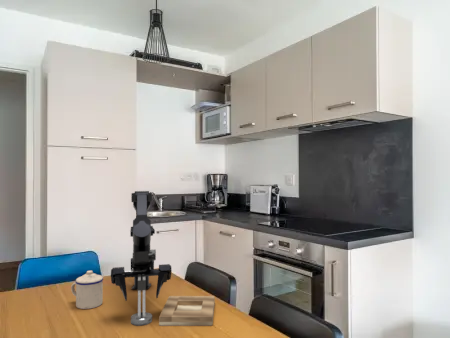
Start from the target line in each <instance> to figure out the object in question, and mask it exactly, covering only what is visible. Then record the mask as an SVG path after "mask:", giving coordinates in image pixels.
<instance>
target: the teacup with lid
mask: <svg viewBox="0 0 450 338" xmlns="http://www.w3.org/2000/svg"><path fill="white" fill-rule="evenodd" d="M103 281H104V277H103V275H101V274H97V273H94V272H93V270H87V271H86V273H85V274H83V275H82V276H78V277H77V278H76V279H75V282H73V283H72V284H71V286H70V289H71V294H72V295H73V296H74V297H75V306H76V308H77V309H81V310H88V309H89V310H90V309H94V308H98V307H100V306H101V305H102V304H103V298H104V297H103V295H104V294H103V293H104V292H103V287H104V285H103Z"/></svg>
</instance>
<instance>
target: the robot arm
mask: <svg viewBox="0 0 450 338" xmlns="http://www.w3.org/2000/svg"><path fill="white" fill-rule="evenodd" d="M130 195H131V196H130V197H131V203H133V204H132V207H133V208H134V210H135V213H136V216H135V218H134V219H133V221H132V226H130V230H129V231H130V235H129V237H132V244H133V245H132V258H130V270H125V266H117V267H112V269H110V279H111V284H113V285H115V286H116V287H117V286H118V287H119V288H120V290H121V292H122V295H123V298H124V300H125V302H127V301H128V294H127V285H126V278H134V279H133V286H132V287H131V290H133V291H134V290H137V291H138V275H139V274H141V277H143V274H145V277H146V290H145V291H147V290H149V289H150V287H151V286H152V283H150V277H153V276H154V277H156V276H157V281H156V282H157V283H156V292H155V298H156V299H158V298H159V295H160V292H161V289H162V286H163V285H164V284H165V283H167V282H168V281H169V280H171V278H172V265H170V263H167V264H158V268H156V269H155V261H156V258H157V256H156V255H157V254H156V253H157V252H156V249H151V239H152V236H153V237H154V234H155V233H156V230H155V228H154V227H153V225H152V224H151V223H152V222H151V219H150V218H149V217H148V211H149V209H150V207H151V202H153V192H150V190H139V191H138V190H137V191H134V192H132V193H130Z"/></svg>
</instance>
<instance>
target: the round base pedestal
mask: <svg viewBox="0 0 450 338" xmlns="http://www.w3.org/2000/svg"><path fill="white" fill-rule="evenodd" d="M146 291H147V290H146V277H145V274H143V277H141V274H139V275H138V290H137V313H134V314H132V315H131V316H130V324H131V325H133V326H135V327H140V326H147V325H149V324H151V323H152V322H153V314H152V313H150V312H148V311H146ZM141 292H142V299H141ZM141 301H142V303H141ZM141 304H142V307H141ZM141 308H142V311H141Z"/></svg>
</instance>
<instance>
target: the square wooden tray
mask: <svg viewBox="0 0 450 338" xmlns="http://www.w3.org/2000/svg"><path fill="white" fill-rule="evenodd" d="M215 297H216V296H215V295H169V296H168V298H167V300H166V302H165V303H164V306H163V308H162V310H161V312H160V315H159V316H158V317H159V318H158V326H189V327H190V326H194V327H195V326H210V327H211V326H213V323H214V311H215V302H216V301H215Z"/></svg>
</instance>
